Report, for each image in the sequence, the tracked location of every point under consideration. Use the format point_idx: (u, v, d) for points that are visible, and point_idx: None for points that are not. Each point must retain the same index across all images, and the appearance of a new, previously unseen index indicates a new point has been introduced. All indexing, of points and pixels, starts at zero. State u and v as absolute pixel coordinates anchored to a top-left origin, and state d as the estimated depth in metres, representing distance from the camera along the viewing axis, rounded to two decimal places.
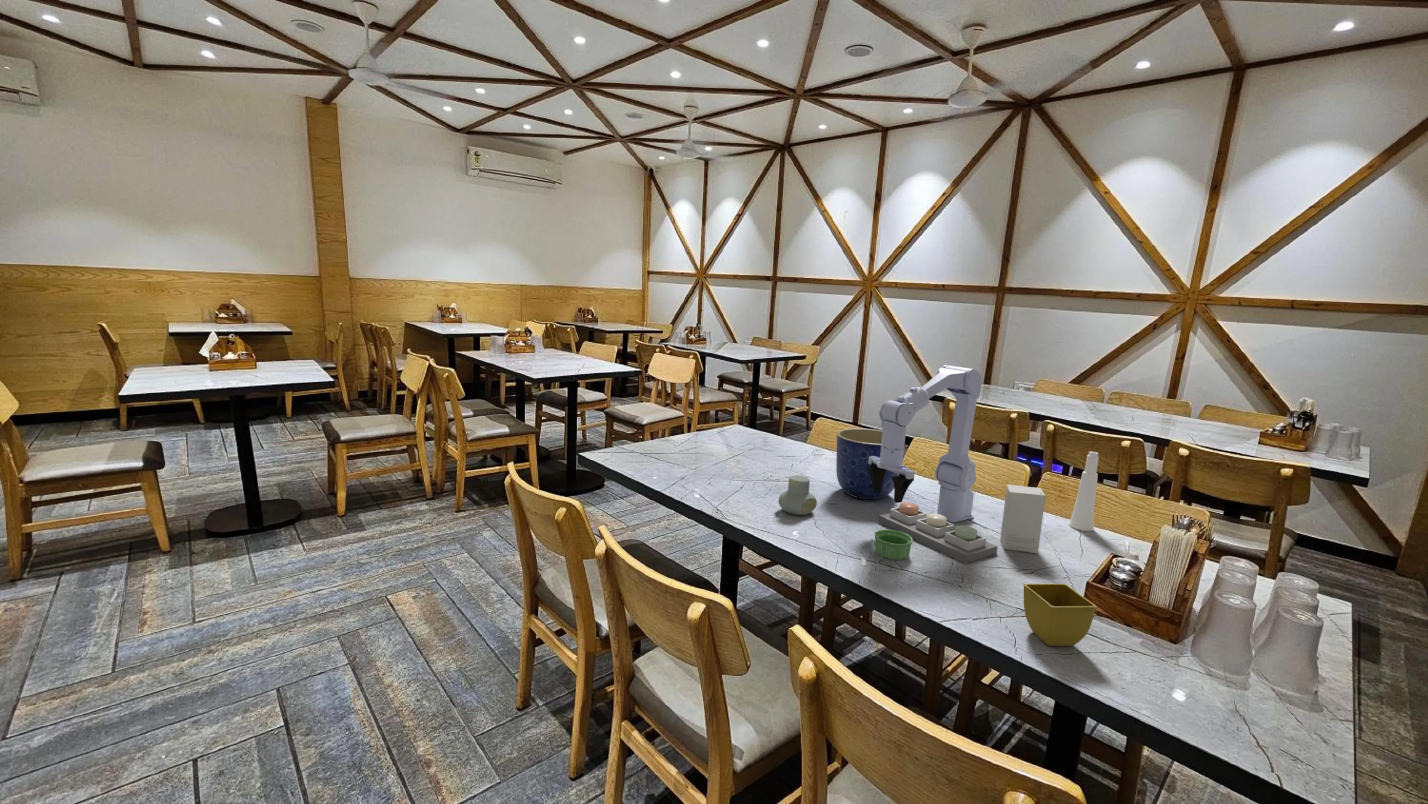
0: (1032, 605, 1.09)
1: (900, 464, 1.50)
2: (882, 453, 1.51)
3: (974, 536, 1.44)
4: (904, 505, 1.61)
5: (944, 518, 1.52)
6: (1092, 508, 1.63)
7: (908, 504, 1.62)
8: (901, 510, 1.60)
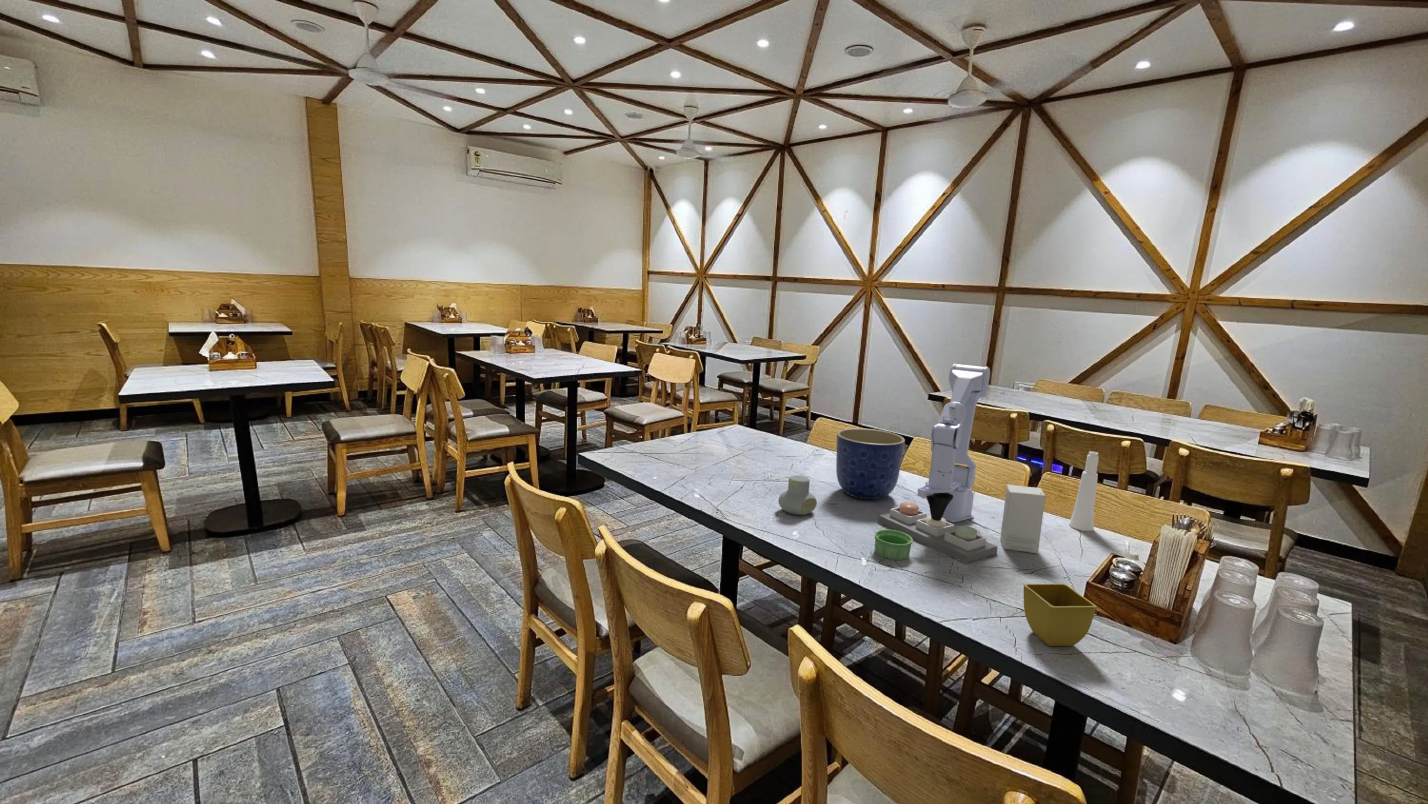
0: (1032, 605, 1.09)
1: (934, 486, 1.50)
2: None
3: (974, 536, 1.44)
4: (904, 505, 1.61)
5: (944, 520, 1.53)
6: (1092, 508, 1.63)
7: (908, 504, 1.62)
8: (901, 510, 1.60)
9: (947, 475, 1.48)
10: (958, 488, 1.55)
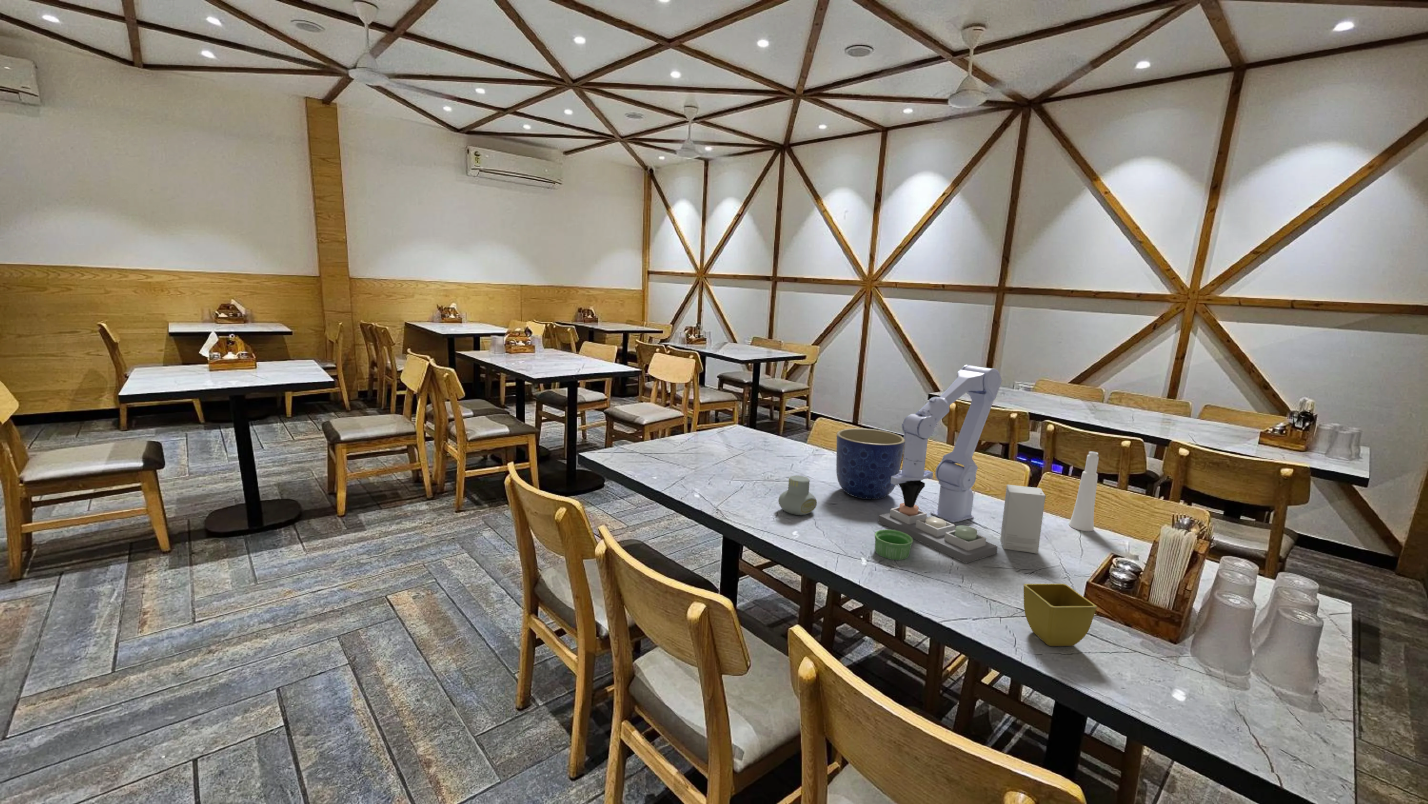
0: (1032, 605, 1.09)
1: (907, 474, 1.57)
2: None
3: (974, 536, 1.44)
4: (904, 505, 1.61)
5: (944, 522, 1.53)
6: (1092, 508, 1.63)
7: None
8: (901, 510, 1.60)
9: (919, 464, 1.56)
10: (930, 476, 1.62)
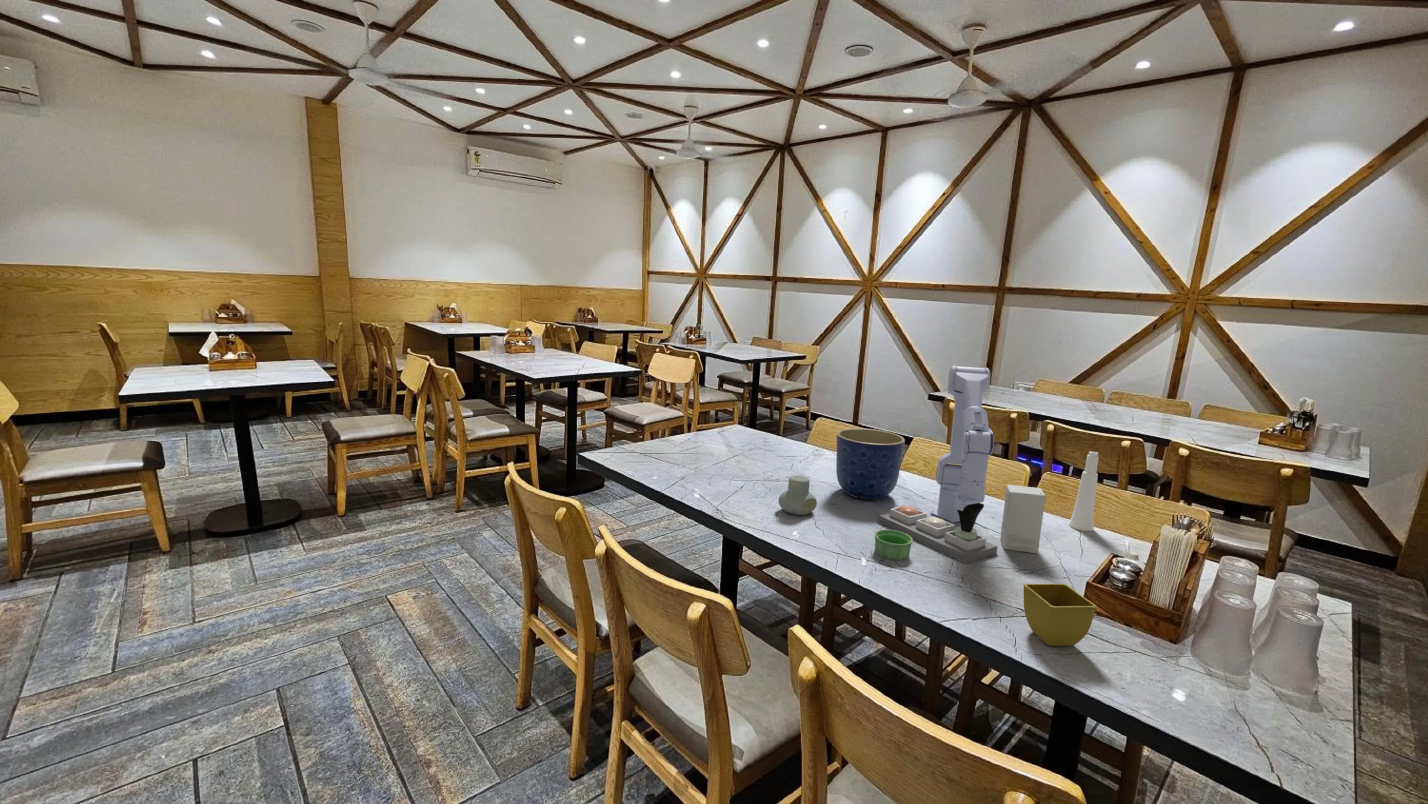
0: (1032, 605, 1.09)
1: (968, 496, 1.42)
2: None
3: (974, 537, 1.44)
4: (904, 509, 1.61)
5: (944, 522, 1.53)
6: (1092, 508, 1.63)
7: (908, 508, 1.62)
8: None
9: (981, 484, 1.41)
10: (983, 496, 1.48)
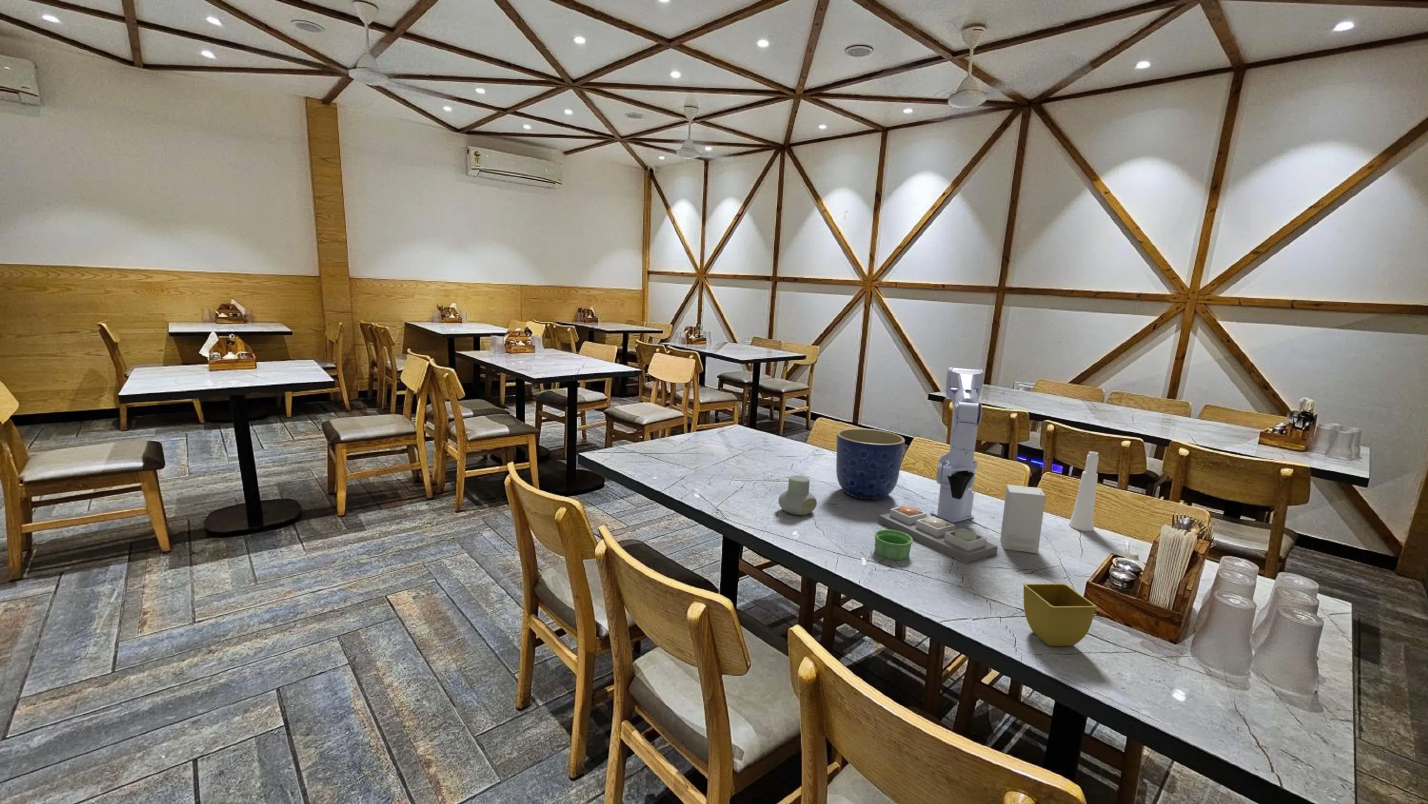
0: (1032, 605, 1.09)
1: (957, 464, 1.50)
2: None
3: None
4: (904, 509, 1.61)
5: (944, 522, 1.53)
6: (1092, 508, 1.63)
7: (908, 508, 1.62)
8: None
9: (970, 453, 1.49)
10: (975, 466, 1.56)
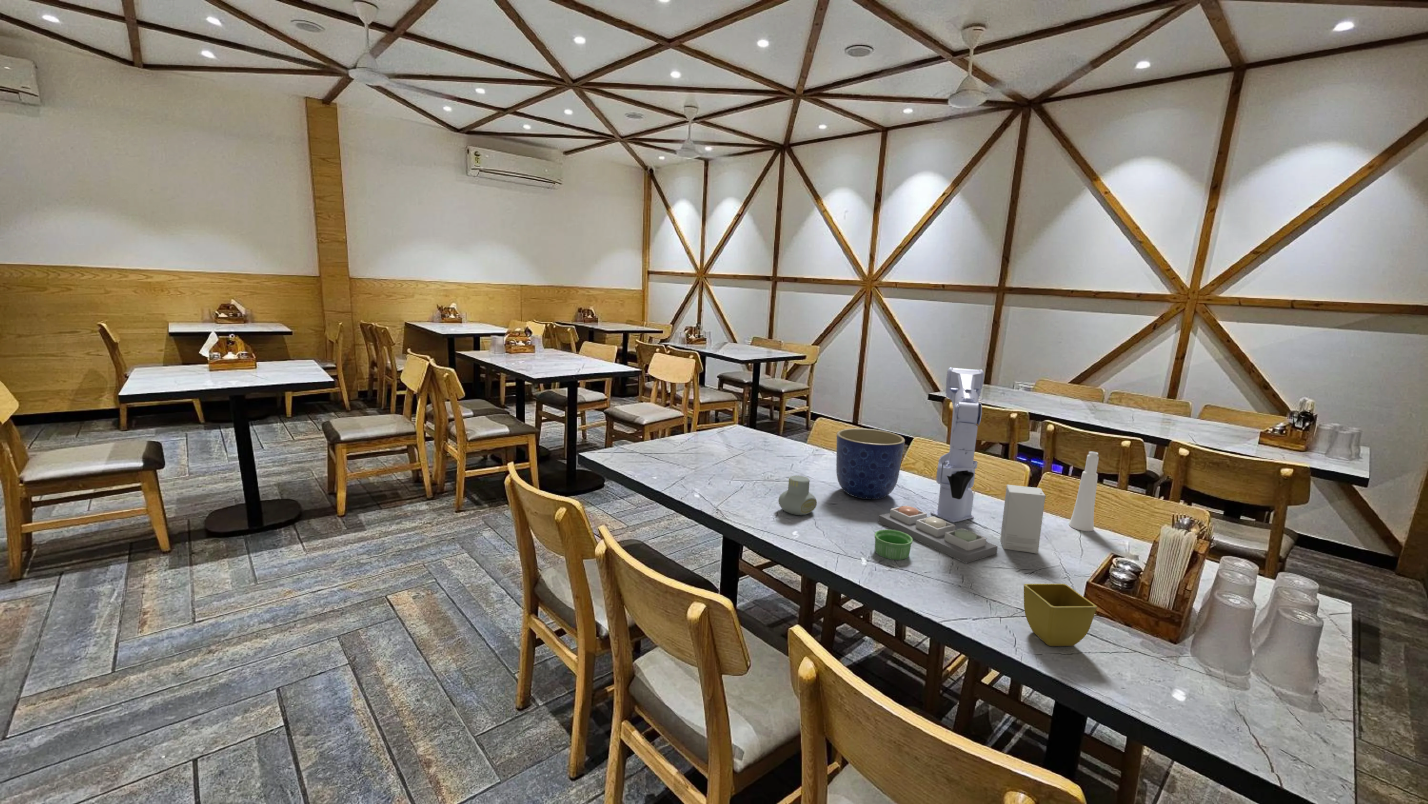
0: (1032, 605, 1.09)
1: (957, 464, 1.50)
2: None
3: None
4: (904, 509, 1.61)
5: (944, 522, 1.53)
6: (1092, 508, 1.63)
7: (908, 508, 1.62)
8: None
9: (970, 453, 1.49)
10: (975, 466, 1.56)
